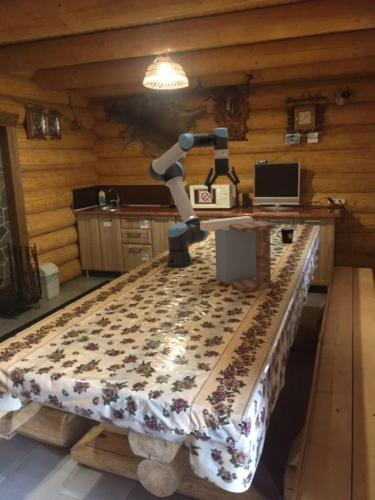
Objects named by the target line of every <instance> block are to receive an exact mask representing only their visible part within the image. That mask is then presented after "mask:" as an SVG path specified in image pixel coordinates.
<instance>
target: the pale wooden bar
mask: <svg viewBox="0 0 375 500" xmlns="http://www.w3.org/2000/svg"><path fill="white" fill-rule="evenodd" d="M246 222H253V216H248V215H244V216H236V217H226V218H218V219H208V220H203V221H202V220H201V221H200V230H203V231H215V230H217V229H225V228H229V225H230V224H238V223H246Z"/></svg>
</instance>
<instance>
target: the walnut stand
mask: <svg viewBox="0 0 375 500" xmlns="http://www.w3.org/2000/svg"><path fill="white" fill-rule="evenodd" d="M229 229H231V230H234V231H237V232H240V233H244V232H252V231H256V277H254V278H248V279H242V280H236V281H231V283H230V285H231V287H233V288H234V289H235V290H238V291H240V292H241V293H247V292H253V291H259V290H265V289H269V288H276V287H277V282H276V281H274V280H273V279H271V278H272V277H271V276H272V274H271V272H272V271H271V269H272V268H271V267H272V266H271V262H272V261H271V230H273V229H277V224H276V223H274V222H270V221H266V220H256V221H252V222H246V223H238V224H230V225H229Z"/></svg>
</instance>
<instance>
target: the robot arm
mask: <svg viewBox="0 0 375 500" xmlns="http://www.w3.org/2000/svg"><path fill="white" fill-rule="evenodd" d="M228 131H229V130H228V128H227V127H216V128H215V127H214V128H213V132H200V133H182V134H180V135H179V137H178V140H177V141H178V142H176V143H175V144H174V145H173V146H172V147H170V148H169V149H168V150H167V151H166V152H165V153H163V154H161V156H160V157H159V158H155V159H154V160H152V162H150V163H149V164H148V168H147V173H148V177H149V178H150V179H151V180H153V181H154V182H158V183H159V182H163V183H164V186H166V187H168V188H169V191H170V193H171V196H172V198H173V200H174V202H175V205H176V208H177V210H178V213H179V215H180V216H181V217H180V218H181V220H182V223H181V222H179V223H175V224H174V223H173V224H172V225H170V226H168V228H167V242H168V243H167V244H168V245H167V246H168V255H167V258H166V266H167V267H169V266H170V267H169V268H176V267H178V268H185V267H189V266H192V265H193V259H192V255H191V253H190V251H189V250H190V249H189V248H190V247H189V245H193V244H197V243H199V244H200V243H201V242H204V241H206V240H207V238H208V236H209V231H210V230H209V231H203V230H200V221H202V220H201V218H200V217H199V216H197V215H196V212H195V210H194V207H193V205H192V203H191V201H190V198H189V196H188V193H187V190H186V189H185V188H186V187H185V186H184V184H183V181H184V180H183V179H184V178H183V177H184V171H185V170H184V167H183V165H182V164H181V162H179V160H180V159H181V158H182V157H184V156H185V155H186V154H187V153H189V152H190V151H192V149H202V148H203V149H204V148H205V149H206V148H213V151H214V152H213V153H214V154H213V155H214V156H213V157H214V168H212V167H209V168H208V169H209V170H208V174H207V177H206V178H205V182H204V184H203V185H204V186H205V187H207V193H208V194H209V199H210V200H213V199H214V193H213V192H214V191H213V189H214V187H213V185H214V183H215V182H216V180H217V178H218V177H221V176H222V177H223V176H224V177H225V176H226V177H227V178H228V180H229V181H230V182H231V183H232V184H231V191H232V192H231V195H232V196H231V197H232V198H237V197H236V195H237V193H236V191H238V188H237V187H238V185H239V184H240V183H241V180H240V178H239V177H238V174H237V172H236V170H235V167H234V166H232V165H231V166H229V165H230V164H229V163H230V161H229V158H228V157H229V132H228ZM229 171H230V172H229ZM214 172H215V173H214ZM213 173H214V174H213Z"/></svg>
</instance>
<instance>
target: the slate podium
mask: <svg viewBox="0 0 375 500" xmlns="http://www.w3.org/2000/svg"><path fill="white" fill-rule="evenodd" d="M214 242H215V243H214V246H215V247H214V250H215V273H216V279H218V280H219V281H221V282H222V283H224V284H226V285H227V284H231V281H236V280H242V279H248V278H254V277H256V231H252V232H244V233H240V232H237V231H234V230H231V229H229V228H225V229H217V230H214Z"/></svg>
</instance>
